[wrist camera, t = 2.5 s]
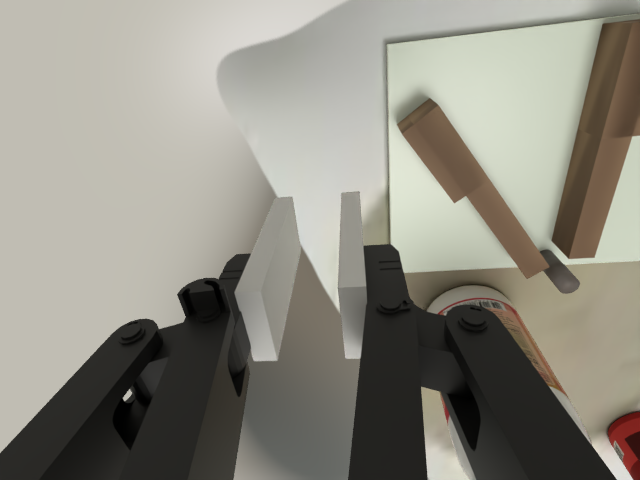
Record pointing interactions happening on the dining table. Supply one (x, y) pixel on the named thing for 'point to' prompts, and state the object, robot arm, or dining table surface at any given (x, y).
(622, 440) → the canned food
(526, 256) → the arm
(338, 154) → the dining table surface
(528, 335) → the fruit juice
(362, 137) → the dining table surface
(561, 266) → the tongs fixed
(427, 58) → the board
